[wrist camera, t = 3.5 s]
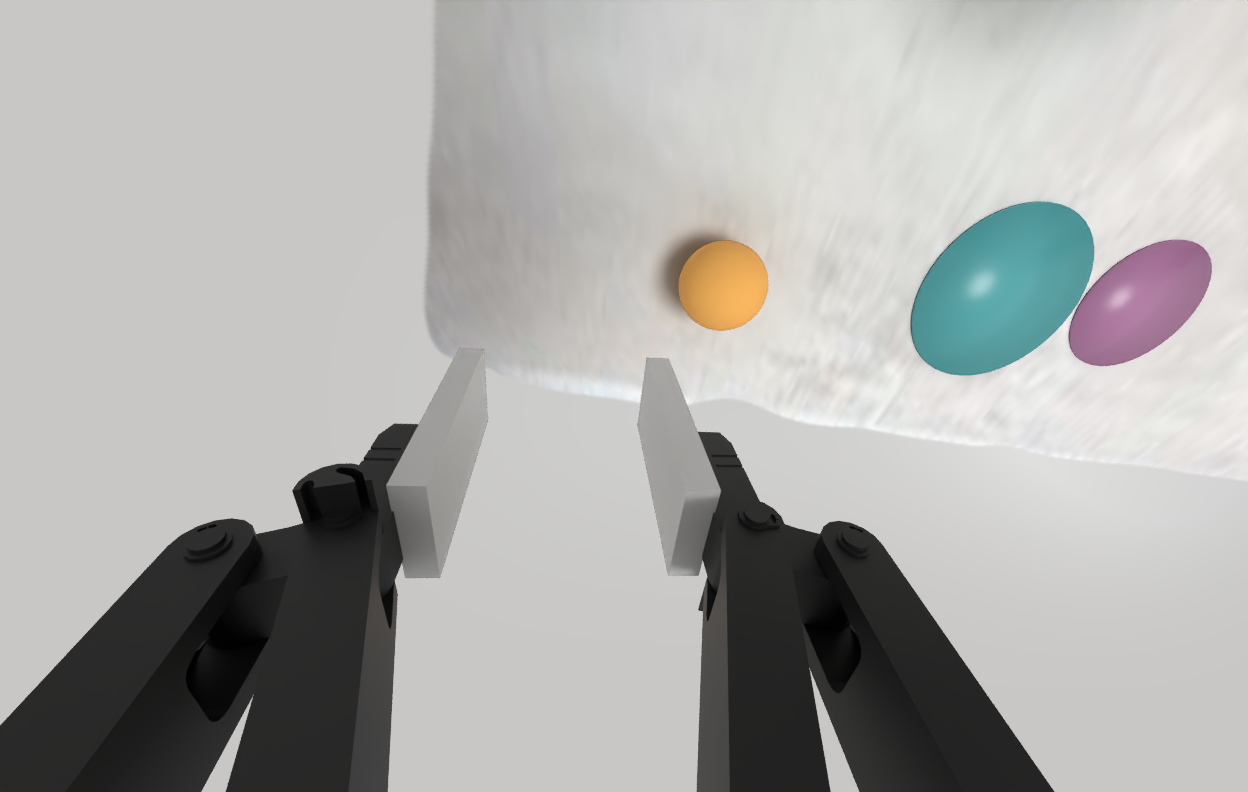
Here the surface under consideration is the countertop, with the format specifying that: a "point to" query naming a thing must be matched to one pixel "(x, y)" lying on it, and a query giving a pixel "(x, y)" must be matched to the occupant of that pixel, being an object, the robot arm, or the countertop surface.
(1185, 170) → the countertop surface
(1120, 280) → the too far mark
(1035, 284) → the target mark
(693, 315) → the ball
